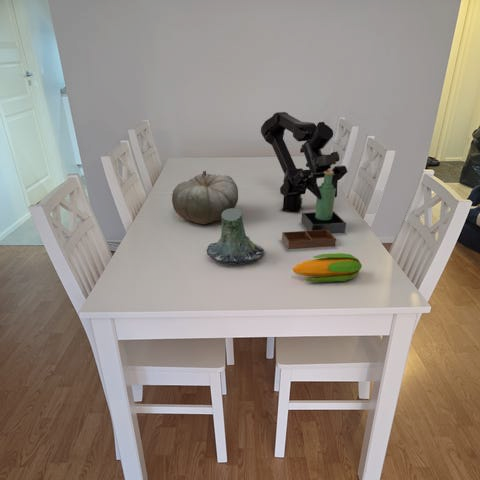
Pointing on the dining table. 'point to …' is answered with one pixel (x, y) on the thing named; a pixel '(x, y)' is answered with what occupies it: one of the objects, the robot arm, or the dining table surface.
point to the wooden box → (308, 239)
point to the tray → (323, 223)
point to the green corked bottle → (326, 198)
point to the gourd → (205, 197)
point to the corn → (329, 267)
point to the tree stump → (234, 241)
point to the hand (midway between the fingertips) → (328, 197)
